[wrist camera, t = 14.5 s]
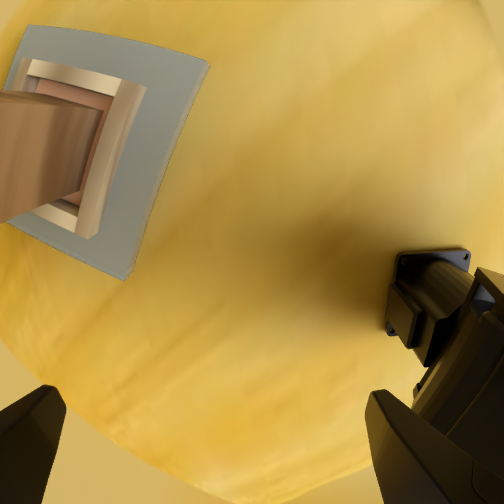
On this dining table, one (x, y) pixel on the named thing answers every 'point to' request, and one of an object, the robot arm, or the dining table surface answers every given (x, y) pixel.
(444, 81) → the dining table surface
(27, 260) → the dining table surface
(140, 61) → the grey square framed tray
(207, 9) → the dining table surface
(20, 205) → the walnut block
